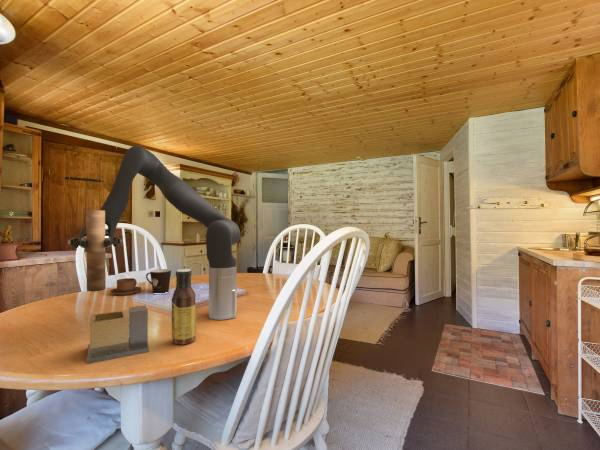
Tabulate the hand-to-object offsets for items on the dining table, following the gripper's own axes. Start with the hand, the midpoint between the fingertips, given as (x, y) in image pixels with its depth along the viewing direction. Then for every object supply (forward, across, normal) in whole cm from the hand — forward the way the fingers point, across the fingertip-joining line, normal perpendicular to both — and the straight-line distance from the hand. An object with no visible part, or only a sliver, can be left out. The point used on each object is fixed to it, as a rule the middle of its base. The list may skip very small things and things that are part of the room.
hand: (95, 243), depth 85 cm
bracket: (+9, +5, +27) cm, 29 cm away
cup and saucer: (-58, +10, +27) cm, 65 cm away
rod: (-3, 0, +13) cm, 13 cm away
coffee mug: (-53, +23, +27) cm, 64 cm away
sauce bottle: (+11, +20, +27) cm, 36 cm away
